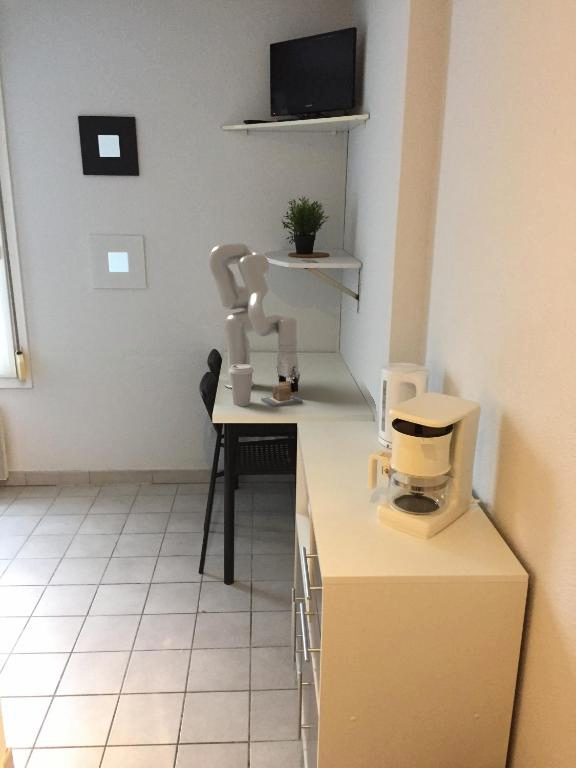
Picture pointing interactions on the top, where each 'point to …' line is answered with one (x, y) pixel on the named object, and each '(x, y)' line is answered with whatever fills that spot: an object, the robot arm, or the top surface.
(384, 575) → the top surface
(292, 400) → the board
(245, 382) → the coffee cup
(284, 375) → the robot arm
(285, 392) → the walnut block
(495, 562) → the top surface
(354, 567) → the top surface
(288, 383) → the terracotta block
